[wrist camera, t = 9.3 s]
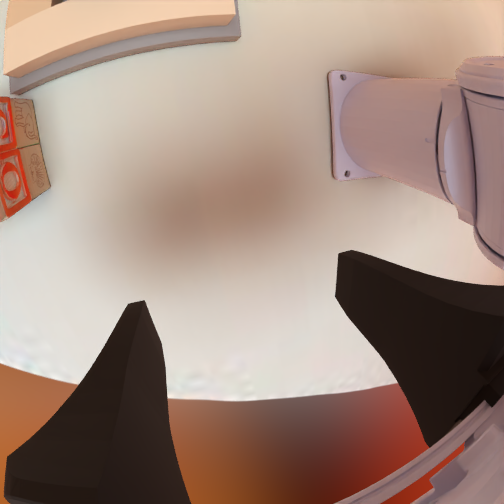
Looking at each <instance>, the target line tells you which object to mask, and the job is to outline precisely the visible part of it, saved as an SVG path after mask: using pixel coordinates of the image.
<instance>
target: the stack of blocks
mask: <svg viewBox="0 0 504 504" xmlns="http://www.w3.org/2000/svg"><path fill="white" fill-rule="evenodd" d="M49 188H50V184H49V181H48V177H47V173H46V169H45V165H44V161H43V157H42V152H41V147H40V144H39V135H38V130H37V124H36V119H35V113H34V108H33V103H32V100H28V99H16V98H14V99H13V98H11V99H10V98H9V97H0V222H2V221H4V220H6V219H8V218H10V217H11V216H12V215H14V214H15V213H16V212H18V211H19V210H20V209H22V208H23V207H24V206H26V205H27V204H28V203H30V202H31V201H32V200H34V199H35V198H36V197H38V196H39V195H41V194H42V193H43V192H45V191H46V190H48V189H49Z"/></svg>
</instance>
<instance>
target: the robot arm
mask: <svg viewBox="0 0 504 504" xmlns="http://www.w3.org/2000/svg"><path fill="white" fill-rule="evenodd" d="M340 75H342V76H343V80H341V78H340ZM455 75H456V77H457V80H455V79H435V78H389V77H384V76H378V75H372V74H365V73H358V72H350V71H341V70H333V71H331V72H330V73H329V76H328V78H329V90H330V103H331V119H332V141H333V175H334V178H335V179H337V180H339V181H345V180H353V179H361V178H370V177H380V176H385V177H388V178H390V179H393V180H396V181H398V182H401V183H404V184H406V185H409V186H411V187H414V188H416V189H419V190H421V191H424V192H426V193H428V194H431V195H433V196H435V197H438V198H440V199H442V200H444V201H447V202H449V203H451V204H453V205H455V206H456V208H457V211H458V217H459V219H461V220H463V221H464V222H466V223H468V224H470V225H472V226H474V227H473V230H474V237H475V241H476V243H477V245H478V247H479V249H480V250H481V252H482V253H483V254H484V255H485V257H486V258H487V259H488V260H490V261H491V262H492V263H493V264H495V265H496V266H498V267H500V268H501V269H503V270H504V57H501V56H486V57H475V58H469V59H466V60H464V61H463V63H462V64H461V66H460V68H458V69H457V70H456V72H455ZM346 170H347V175H346V176H345V171H346ZM335 297H336V299H337V301H338V302H339V304H340V306H341V307H342V309H343V310H344V312H345V313H346V315H347V316H348V318H349V319H350V320H351V321H352V322H353V324H354V325H355V326H356V327H357V328H358V330H359V331H360V332H361V333H362V334H363V335H364V337H365V338H366V339H367V340H368V341H369V342H370V344H371V345H372V346H373V347H374V348H375V350H376V351H377V352H378V353H379V354H380V356H381V357H382V358H383V360H384V361H385V362H386V364H387V366H388V367H389V369H390V370H391V372H392V373H393V375H394V377H395V378H396V380H397V382H398V383H399V385H400V387H401V389H402V390H403V392H404V394H405V396H406V398H407V400H408V402H409V404H410V406H411V408H412V410H413V412H414V414H415V417H416V419H417V422H418V424H419V427H420V429H421V432H422V434H423V437H424V440H425V442H426V444H427V445H428V446H429V447H430V448H429V449H428V450H426V451H425V452H424V453H422V454H421V455H420V456H418V457H417V458H415V459H414V460H413V461H411V462H409V463H408V464H406V465H405V466H403V467H402V468H400V469H399V470H397V471H395V472H394V473H392V474H391V475H389V476H387V477H386V478H384V479H382V480H380V481H379V482H377V483H375V484H373V485H372V486H370V487H368V488H366V489H364V490H362V491H360V492H358V493H356V494H354V495H352V496H350V497H348V498H346V499H344V500H342V501H340V502H337V503H335V504H380V503H382V502H383V501H385V500H387V499H388V498H390V497H392V496H393V495H395V494H397V493H398V492H400V491H401V490H403V489H404V488H406V487H407V486H409V485H410V484H412V483H413V482H415V481H416V480H417V479H419V478H420V477H422V476H423V475H425V474H426V473H427V472H429V471H430V470H431V469H433V468H434V467H435V466H436V465H438V464H439V463H440V462H441V461H443V460H444V459H445V458H446V457H447V456H449V455H450V454H451V453H452V452H453V451H454V450H456V449H457V448H458V447H459V446H460V445H461V444H462V443H464V442H465V445H464V446H465V448H464V451H463V452H462V453H461V454H459V455H458V456H457V457H456V458H455V459H453V460H452V461H451V462H450V463H448V464H447V465H446V466H445V467H443V468H442V469H441V470H440V471H439V472H437V473H436V474H435V475H434V476H433V477H431V478H430V482H431V483H432V485H433V486H434V488H433V489H431V490H430V491H428V492H427V493H426V494H424V495H423V496H421V497H420V498H419V499H417V500H416V501H414V502H413V503H411V504H504V286H495V285H480V284H472V283H465V282H458V281H453V280H448V279H444V278H440V277H435V276H432V275H428V274H425V273H421V272H418V271H415V270H412V269H409V268H406V267H403V266H400V265H397V264H394V263H391V262H388V261H386V260H383V259H380V258H377V257H374V256H371V255H368V254H365V253H361V252H358V251H354V250H350V251H346V252H342V253H338V267H337V281H336V292H335ZM4 497H5V499H6V500H7V501H8V502H9V503H10V504H191V502H190V500H189V496H188V493H187V491H186V487H185V484H184V481H183V479H182V475H181V471H180V468H179V465H178V461H177V457H176V453H175V449H174V445H173V440H172V436H171V431H170V424H169V414H168V401H167V385H166V368H165V361H164V355H163V349H162V343H161V341H160V338H159V336H158V333H157V331H156V328H155V326H154V323H153V321H152V318H151V316H150V313H149V310H148V308H147V305H146V302H145V300H143V301H139V302H134V303H130V304H128V305H127V307H126V308H125V310H124V312H123V314H122V315H121V317H120V319H119V321H118V323H117V324H116V326H115V328H114V330H113V332H112V333H111V335H110V337H109V339H108V340H107V342H106V344H105V346H104V347H103V349H102V351H101V352H100V354H99V355H98V357H97V359H96V360H95V362H94V364H93V365H92V367H91V368H90V370H89V371H88V373H87V374H86V376H85V377H84V378H83V380H82V381H81V382H80V384H79V385H78V387H77V388H76V389H75V391H74V392H73V393H72V394H71V396H70V397H69V398H68V399H67V400H66V401H65V403H64V404H63V405H62V406H61V407H60V408H59V410H58V411H57V412H56V413H55V414H54V415H53V416H52V418H50V420H49V421H48V422H47V423H46V424H45V425H44V426H43V427H42V428H41V429H40V430H39V431H37V432H36V433H35V434H34V435H33V436H32V437H31V438H30V439H29V440H28V441H26V442H25V443H24V444H23V445H21V446H20V447H19V448H18V449H16V450H15V451H14V452H13V453H12V454H10V455H9V456H8V457H7V462H6V472H5V486H4Z"/></svg>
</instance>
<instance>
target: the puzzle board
mask: <svg viewBox="0 0 504 504" xmlns="http://www.w3.org/2000/svg"><path fill="white" fill-rule="evenodd" d="M240 37H241V29H240V20H239V11H238V2H237V0H9V5H8V11H7V19H6V28H5V40H4V75H7V76H9V79H10V94H15V95H20V94H22V93H24V92H26V91H28V90H30V89H32V88H34V87H36V86H39V85H41V84H43V83H46V82H48V81H50V80H53V79H55V78H58V77H61V76H63V75H66V74H69V73H71V72H74V71H77V70H80V69H83V68H86V67H89V66H92V65H95V64H99V63H102V62H106V61H109V60H113V59H117V58H120V57H125V56H129V55H133V54H137V53H142V52H147V51H152V50H158V49H163V48H170V47H176V46H183V45H191V44H201V43H212V42H226V41H237V40H238V39H239V38H240Z"/></svg>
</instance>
